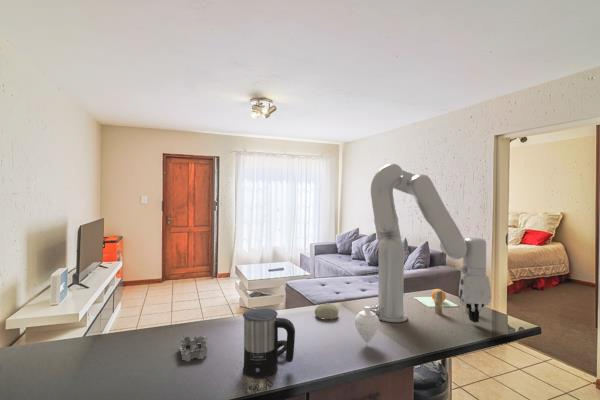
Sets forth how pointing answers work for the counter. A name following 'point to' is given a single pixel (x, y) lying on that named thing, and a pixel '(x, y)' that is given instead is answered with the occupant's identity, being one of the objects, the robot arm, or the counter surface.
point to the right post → (466, 310)
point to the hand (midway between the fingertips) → (473, 321)
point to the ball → (442, 295)
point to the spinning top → (367, 324)
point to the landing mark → (431, 303)
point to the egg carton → (193, 347)
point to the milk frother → (265, 342)
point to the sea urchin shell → (326, 311)
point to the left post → (438, 302)
